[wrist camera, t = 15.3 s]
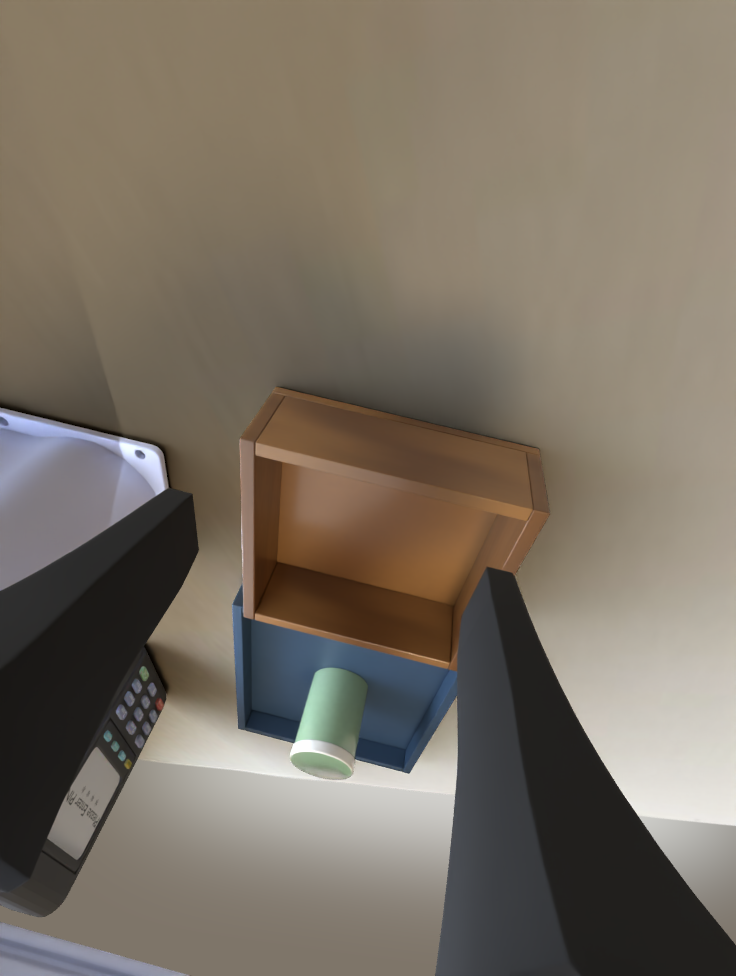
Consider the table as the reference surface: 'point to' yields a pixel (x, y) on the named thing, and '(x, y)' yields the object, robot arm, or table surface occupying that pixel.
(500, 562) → the open wooden box
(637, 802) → the table surface
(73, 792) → the card reader
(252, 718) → the tray
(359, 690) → the shaker
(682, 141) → the table surface
